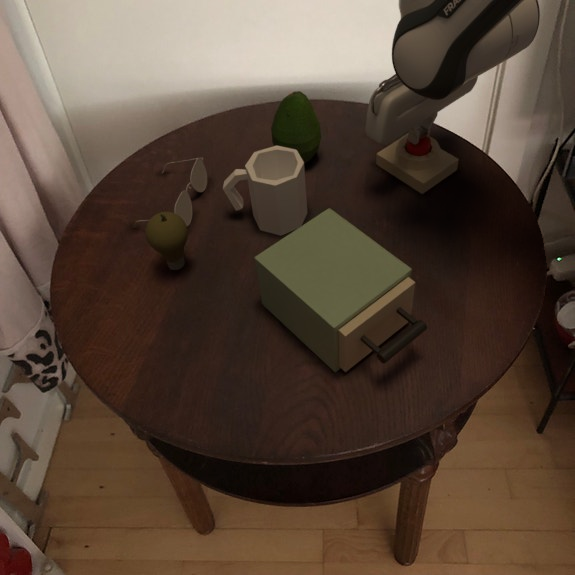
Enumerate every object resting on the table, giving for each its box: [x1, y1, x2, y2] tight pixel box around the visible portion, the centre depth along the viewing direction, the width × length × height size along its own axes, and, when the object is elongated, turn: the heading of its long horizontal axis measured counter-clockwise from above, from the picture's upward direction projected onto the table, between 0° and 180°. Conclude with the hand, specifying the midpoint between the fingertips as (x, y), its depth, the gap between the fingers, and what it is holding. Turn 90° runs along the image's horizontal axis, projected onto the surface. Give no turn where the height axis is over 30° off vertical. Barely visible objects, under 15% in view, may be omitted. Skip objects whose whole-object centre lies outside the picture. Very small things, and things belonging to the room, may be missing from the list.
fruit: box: [270, 90, 322, 164], centre depth 98 cm, size 8×8×12 cm
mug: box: [222, 145, 308, 237], centre depth 91 cm, size 12×9×10 cm
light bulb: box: [145, 211, 189, 271], centre depth 86 cm, size 6×6×10 cm
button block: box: [375, 133, 460, 195], centre depth 98 cm, size 10×8×4 cm
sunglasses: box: [133, 157, 208, 229], centre depth 97 cm, size 14×8×5 cm, turn 167°
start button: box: [406, 135, 431, 156], centre depth 96 cm, size 4×4×2 cm
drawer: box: [338, 277, 428, 373], centre depth 77 cm, size 18×11×8 cm, turn 40°
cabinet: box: [253, 207, 413, 373], centre depth 79 cm, size 15×13×10 cm
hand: (418, 139), depth 95 cm, fingers closed
